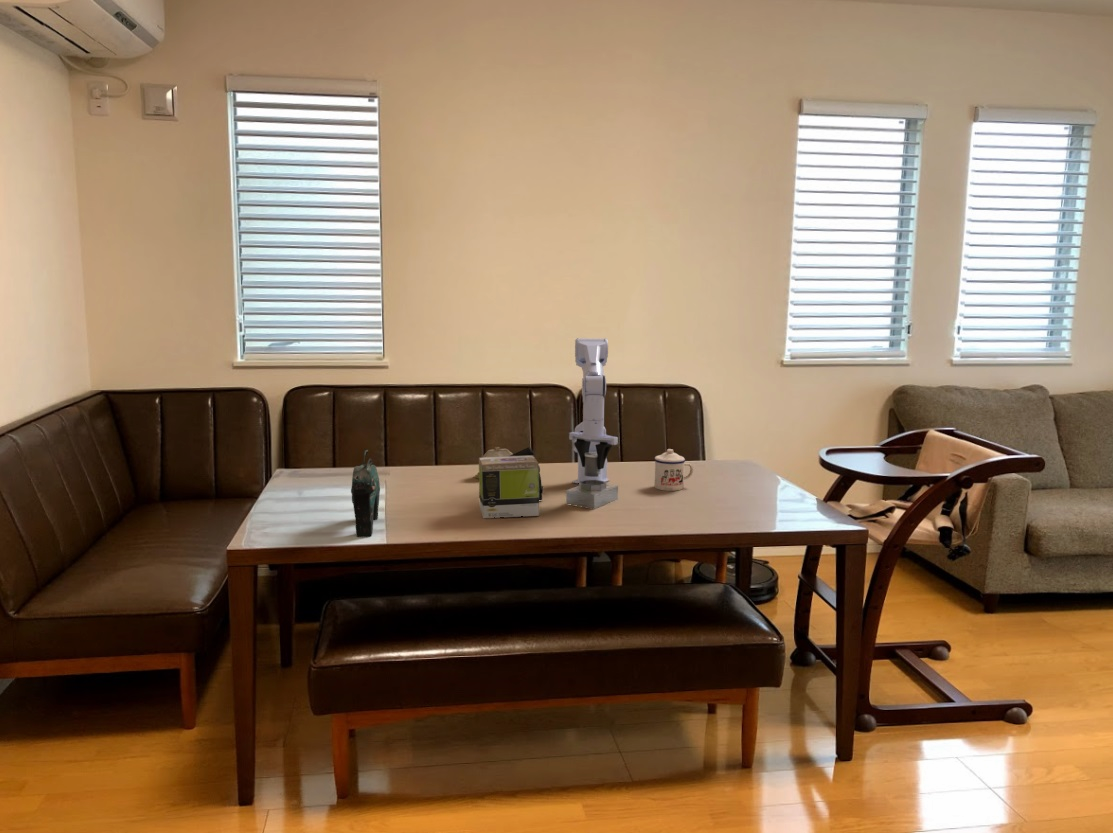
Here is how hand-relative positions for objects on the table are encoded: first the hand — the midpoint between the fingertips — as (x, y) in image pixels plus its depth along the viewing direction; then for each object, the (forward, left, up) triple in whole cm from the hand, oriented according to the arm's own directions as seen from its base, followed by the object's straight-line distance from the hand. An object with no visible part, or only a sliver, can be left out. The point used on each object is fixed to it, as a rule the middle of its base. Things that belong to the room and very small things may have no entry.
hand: (592, 467), depth 243 cm
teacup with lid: (-29, +11, -10) cm, 33 cm away
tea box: (+23, -12, -10) cm, 28 cm away
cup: (0, 0, -2) cm, 2 cm away
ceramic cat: (+54, -33, -10) cm, 64 cm away
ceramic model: (-9, -40, -10) cm, 42 cm away
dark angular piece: (+10, -18, -10) cm, 23 cm away
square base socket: (0, 0, -10) cm, 10 cm away
